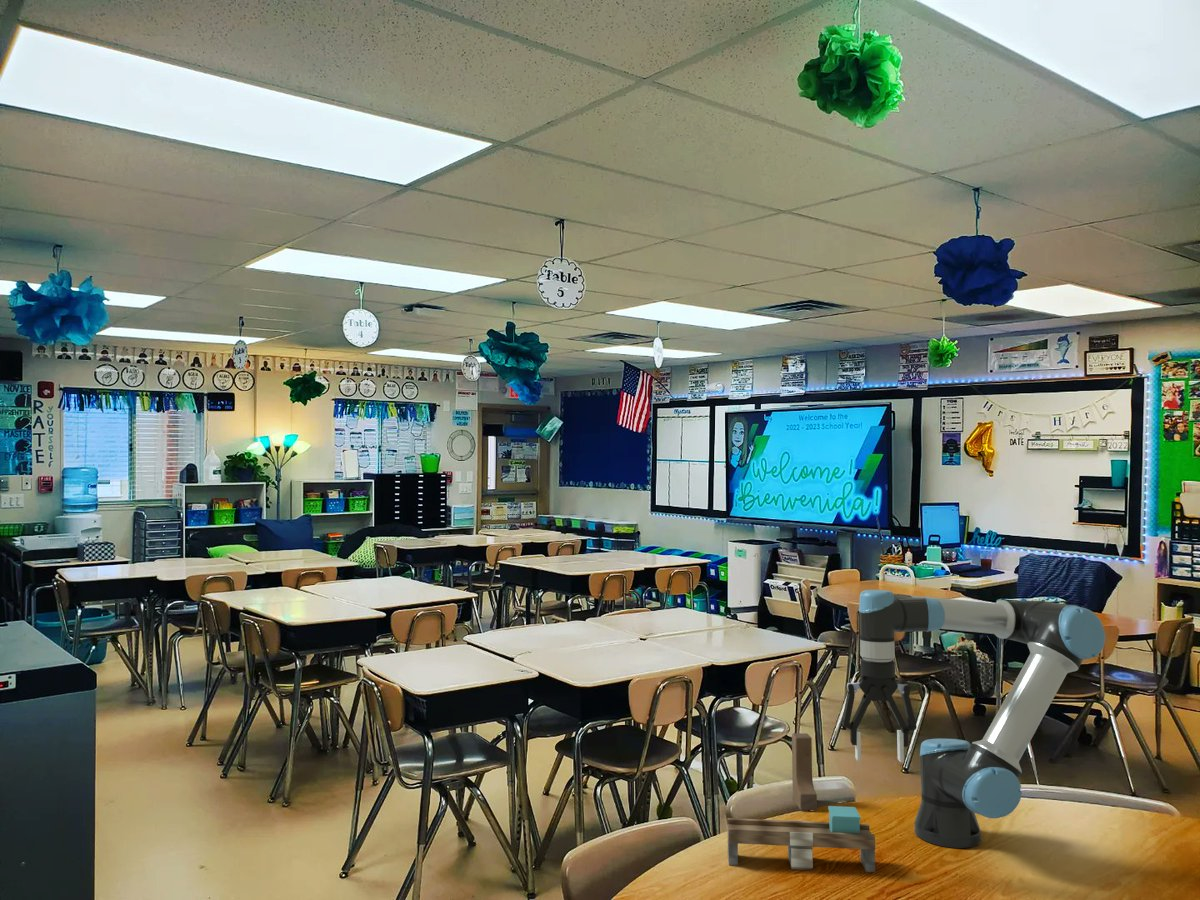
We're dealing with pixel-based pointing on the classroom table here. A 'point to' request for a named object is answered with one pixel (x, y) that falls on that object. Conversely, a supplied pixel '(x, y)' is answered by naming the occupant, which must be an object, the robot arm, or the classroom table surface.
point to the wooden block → (803, 772)
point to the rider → (844, 819)
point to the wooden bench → (798, 839)
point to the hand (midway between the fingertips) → (879, 760)
